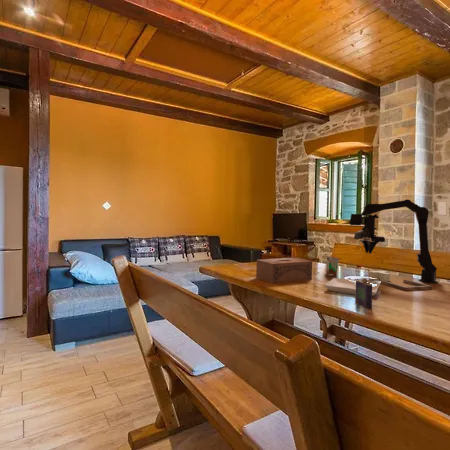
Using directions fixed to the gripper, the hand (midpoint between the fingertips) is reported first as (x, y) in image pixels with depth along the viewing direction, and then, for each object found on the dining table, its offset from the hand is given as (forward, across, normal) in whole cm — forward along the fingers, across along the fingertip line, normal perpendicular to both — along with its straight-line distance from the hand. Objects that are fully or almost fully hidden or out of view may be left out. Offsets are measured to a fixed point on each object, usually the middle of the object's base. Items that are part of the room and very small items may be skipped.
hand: (368, 253), depth 183 cm
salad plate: (+14, +29, -32) cm, 45 cm away
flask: (+13, +51, -44) cm, 69 cm away
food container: (+13, -4, -20) cm, 24 cm away
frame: (+13, +26, 0) cm, 29 cm away
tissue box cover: (+14, -1, -52) cm, 54 cm away
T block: (+13, +11, 0) cm, 17 cm away
